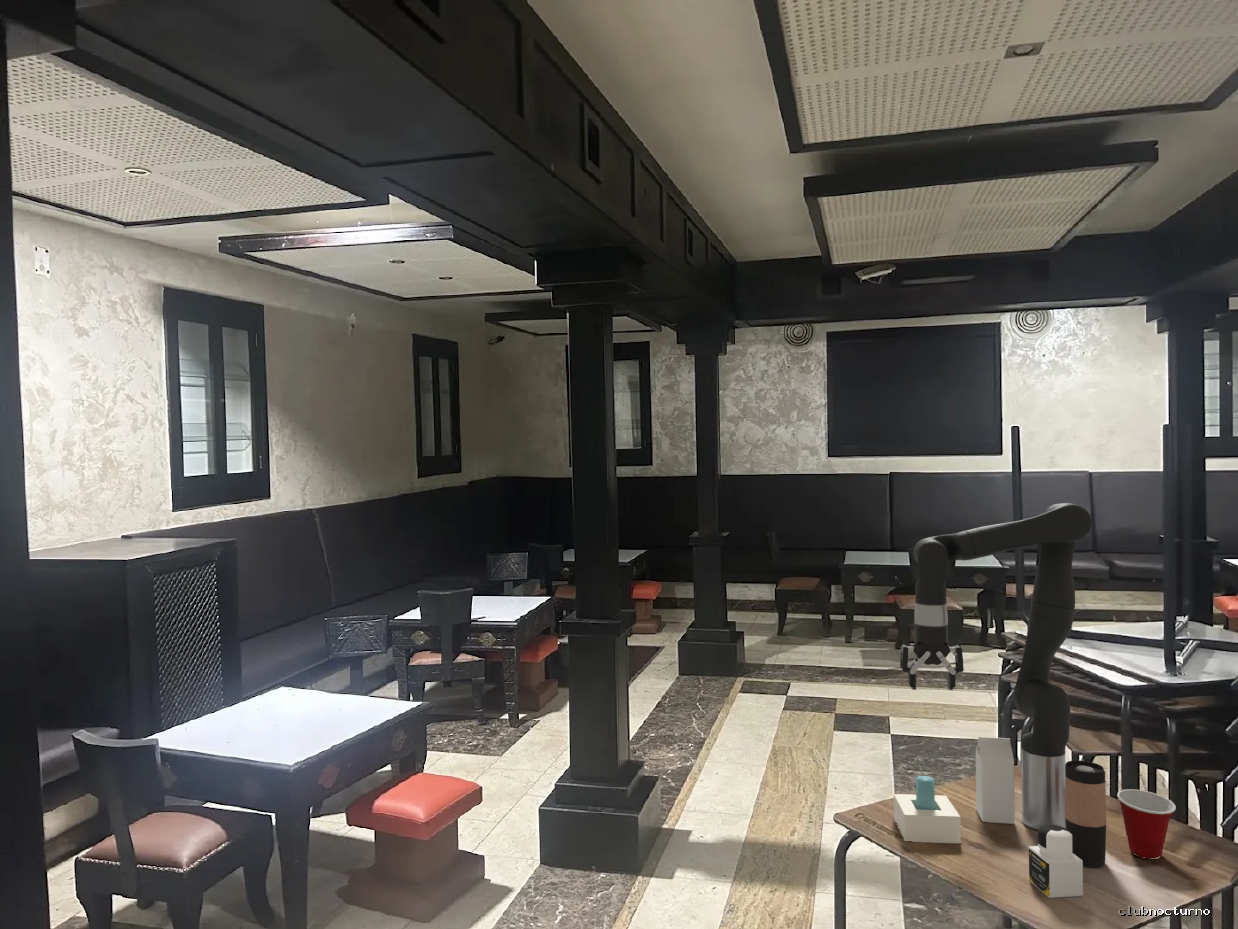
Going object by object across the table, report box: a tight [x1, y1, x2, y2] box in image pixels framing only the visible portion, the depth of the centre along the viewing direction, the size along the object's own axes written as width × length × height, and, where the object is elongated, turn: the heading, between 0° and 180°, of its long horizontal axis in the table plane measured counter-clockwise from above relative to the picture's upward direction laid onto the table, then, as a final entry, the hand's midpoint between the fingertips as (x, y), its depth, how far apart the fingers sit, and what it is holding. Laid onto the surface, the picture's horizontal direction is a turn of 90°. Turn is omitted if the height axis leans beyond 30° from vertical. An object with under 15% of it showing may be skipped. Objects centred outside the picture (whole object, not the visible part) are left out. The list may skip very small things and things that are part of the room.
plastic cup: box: [1116, 788, 1177, 858], centre depth 185 cm, size 11×11×12 cm
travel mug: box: [1065, 759, 1107, 869], centre depth 182 cm, size 8×8×20 cm
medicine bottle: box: [1028, 824, 1084, 899], centre depth 171 cm, size 7×7×12 cm
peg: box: [915, 775, 936, 810], centre depth 197 cm, size 4×4×12 cm
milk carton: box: [975, 736, 1016, 825], centre depth 204 cm, size 7×7×19 cm
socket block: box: [893, 793, 962, 844], centre depth 198 cm, size 12×12×6 cm
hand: (931, 689), depth 207 cm, fingers open, 8 cm apart
